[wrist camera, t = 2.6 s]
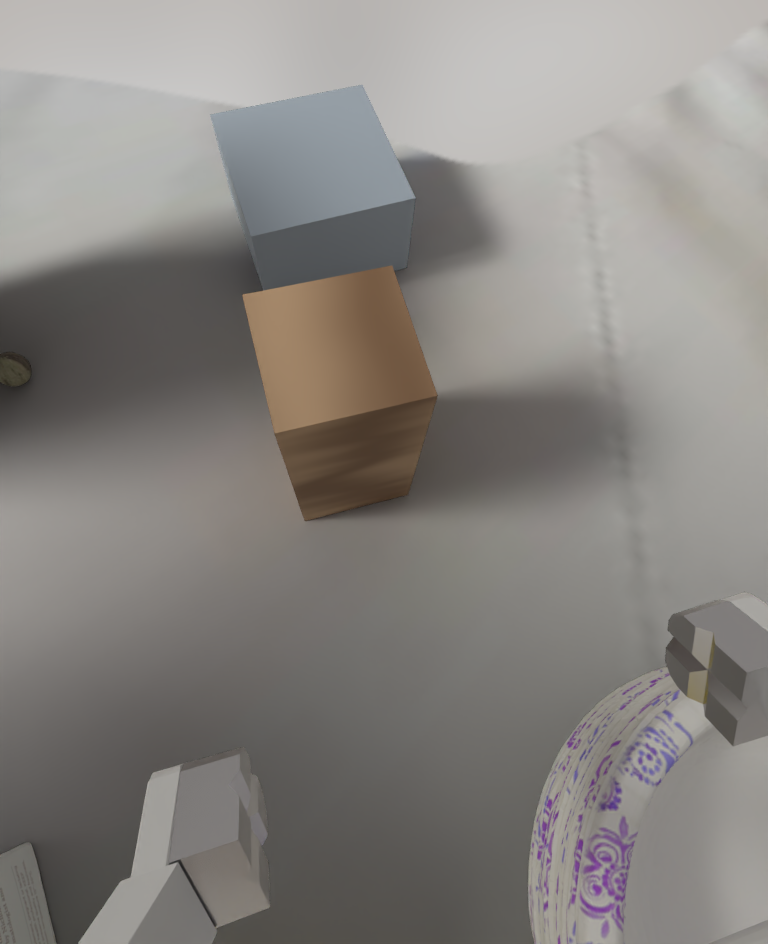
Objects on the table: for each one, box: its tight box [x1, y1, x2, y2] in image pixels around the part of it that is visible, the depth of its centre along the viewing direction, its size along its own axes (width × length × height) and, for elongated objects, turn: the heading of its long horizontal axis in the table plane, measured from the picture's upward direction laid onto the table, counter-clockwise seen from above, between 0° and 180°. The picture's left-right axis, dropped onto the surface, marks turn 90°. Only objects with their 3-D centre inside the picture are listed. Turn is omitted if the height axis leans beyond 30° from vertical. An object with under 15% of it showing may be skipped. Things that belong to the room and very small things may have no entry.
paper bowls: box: [528, 666, 768, 944], centre depth 18 cm, size 15×15×8 cm
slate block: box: [210, 85, 416, 291], centre depth 29 cm, size 8×8×5 cm
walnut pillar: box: [242, 265, 437, 521], centre depth 22 cm, size 5×5×10 cm
